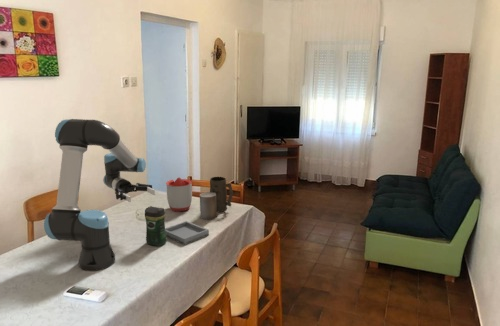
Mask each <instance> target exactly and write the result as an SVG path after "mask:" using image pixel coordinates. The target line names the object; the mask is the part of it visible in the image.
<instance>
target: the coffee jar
mask: <svg viewBox="0 0 500 326" xmlns="http://www.w3.org/2000/svg"><path fill="white" fill-rule="evenodd" d="M165 218H166V211H165V208H163V207H157V206H152V205H151V206H148V207H146V208H145V209H144V219H145V222H146V225H145V226H146V227H145V228H146V230H145V231H146V232H145V233H146V235H145V242H146V244H147V245H149V246H155V247H159V246H163V245H165V244H166V243H167V242H168V241H167V237H166V231H165V228H166V225H165Z"/></svg>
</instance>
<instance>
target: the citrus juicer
mask: <svg viewBox="0 0 500 326" xmlns="http://www.w3.org/2000/svg"><path fill="white" fill-rule="evenodd" d="M192 183H193V182H192V180H190V179H186V178H181V177H177V178H176V179H175V180H174V179H170V180H169V181H166V182H165V184H166V197H167V198H166V200H167V203H168V207H169V208H170V211H173V212H183V211H188V210H189V209H190V208H191V204H192V199H193V189H192V187H193V186H192V185H193V184H192Z"/></svg>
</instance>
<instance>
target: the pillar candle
mask: <svg viewBox="0 0 500 326" xmlns="http://www.w3.org/2000/svg"><path fill="white" fill-rule="evenodd" d="M216 205H217V204H216V193H213V192H210V191H208V192H207V191H205V192H202V193H200V194H199V209H200V210H199V211H200V213H199V215H200V218H201V219H202V220H207V221H208V220H214V219H216V218H217V217H218V215H217V214H218V212H217V206H216Z"/></svg>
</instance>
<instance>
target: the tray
mask: <svg viewBox="0 0 500 326" xmlns="http://www.w3.org/2000/svg"><path fill="white" fill-rule="evenodd" d="M165 231H166V238H168V239H171V240H173V241H176V242H177V243H180V244H181V245H184V246H185V245H188V244H190V243H193V242H194V241H195V242H196V241H197V240H200V239H203V238H205V237H208V236H209V235H210V233H209V232H210V231H209V229H208V228H205V227H203V226H200V225H198V224H195V223H193V222H190V221H187V220H186V221H183V222H180V223H177V224H174V225H171V226H169V227H165Z"/></svg>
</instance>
